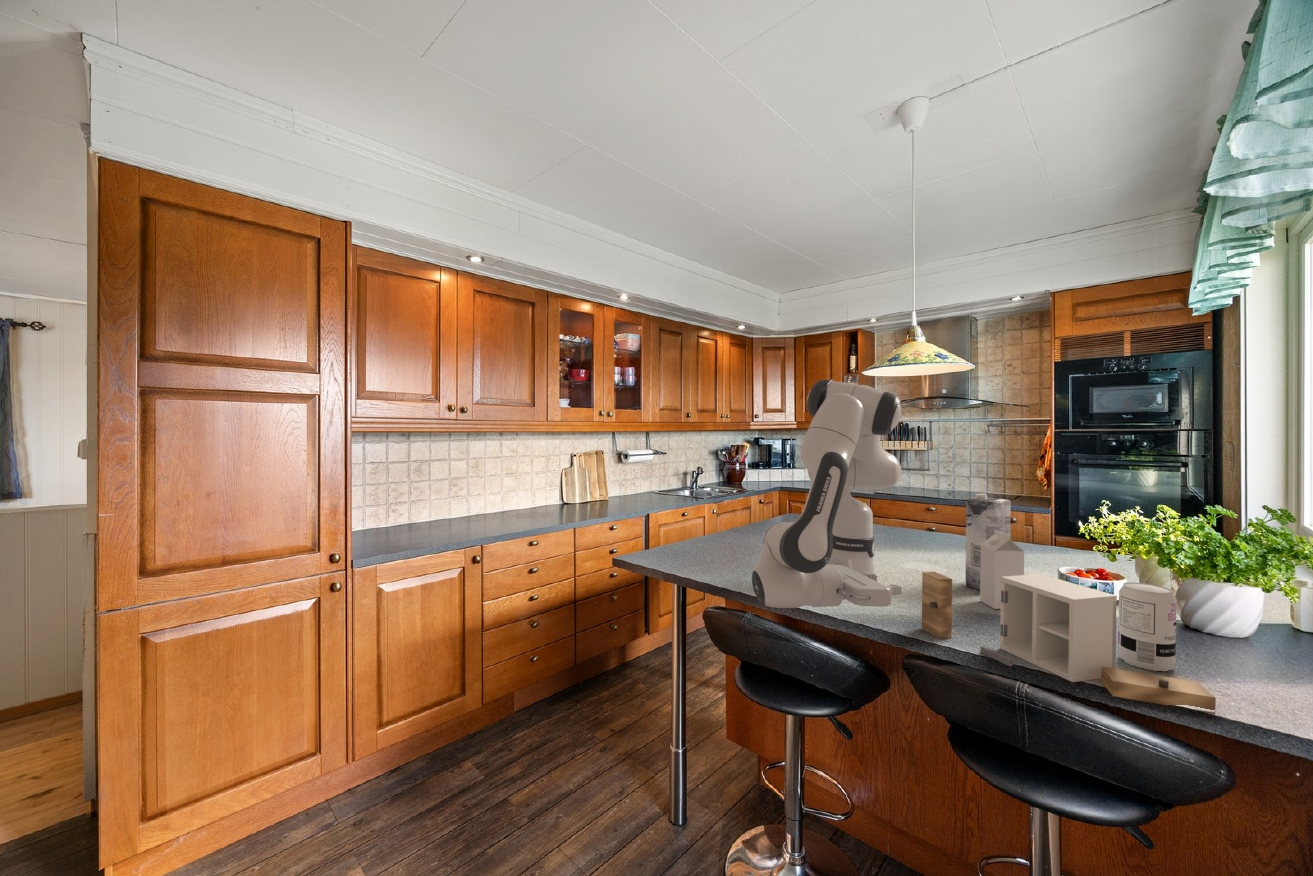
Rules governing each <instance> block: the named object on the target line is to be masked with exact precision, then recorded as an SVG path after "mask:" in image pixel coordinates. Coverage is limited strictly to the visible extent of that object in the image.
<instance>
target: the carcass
mask: <svg viewBox="0 0 1313 876" xmlns="http://www.w3.org/2000/svg"><path fill="white" fill-rule="evenodd" d="M1117 600H1118V595H1116V594H1112V593H1110V592H1109V593H1108V592H1105V591H1102V590H1097V589H1094V588H1091V587H1087V586H1084V585H1080V584H1076V583H1073V582H1071V581H1066V580H1063V579H1060V578H1055V577H1052V576H1050V575H1049V576H1048V575H1045V574H1042V573H1032V574H1024V575H1018V576H1004V577H1001V609H1000V619H999V621H1000V625H999V627H1000V628H999V629H1000V630H999V649H1000V650H1002V651H1005V652H1007V653H1009V654H1011V655H1014V656H1015V657H1018V658H1020V659H1021V660H1024V661H1026V662H1028V663H1031V664H1033V665H1035V666H1037V667H1038V668H1041V669H1044V670H1045V671H1047V672H1050V673H1051V674H1054V675H1056V676H1059V677H1060V678H1063V679H1065V680H1067V681H1069V682H1071V683H1077V682H1084V681H1085V682H1086V681H1091V680H1092V679H1093V680H1098V679H1099V678H1100V679H1101V667H1106V668H1113V669H1116V660H1117V659H1116V658H1117V657H1116V656H1117V655H1116V652H1117V651H1116V649H1117V645H1116V644H1117ZM979 652H980V653H981V654H984V655H985V656H988V657H990V658H991V659H994V660H995V661H998V662H1000V663H1001V664H1004V665H1005V666H1008V667H1014V659H1012V658H1010V657H1008V656H1006V655H1003V654H1001V653H999V652H997V651H995V650H993V649H991V648H989V647H987V646H984V645H980V651H979ZM1093 680H1092V681H1093Z"/></svg>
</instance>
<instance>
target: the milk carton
mask: <svg viewBox="0 0 1313 876" xmlns="http://www.w3.org/2000/svg"><path fill="white" fill-rule="evenodd" d="M1018 575H1025V551H1024V550H1023V549H1022V548H1021V547H1020V546H1019V545H1017V544H1016V543H1015V542H1014V541H1013V540H1011V534H1010V535H1008V534H1005V533H1002V532H999V531H997V530H995V534H994V535H993V536H991V537H990V538H989V539H988V540H986V541H985V542H984V543H982V544H981V568H980V590H979V598H980V599H979V601H981V602H982V603H984V604H985V605H987V606H989V607H990V609H991V608H992V609H994V610H1001V577H1004V576H1018Z"/></svg>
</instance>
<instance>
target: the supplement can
mask: <svg viewBox="0 0 1313 876" xmlns="http://www.w3.org/2000/svg"><path fill="white" fill-rule="evenodd" d="M1177 602H1178V601H1177V598H1176V596H1175V595H1174V593H1173V590H1172V589H1170V588H1168V587H1165V586H1161V585H1157V584H1152V583H1143V582H1135V581H1134V582H1132V581H1131V582H1130V581H1129V582H1124V583H1123V585H1122V587H1121V588H1120V589H1119V590H1118V623H1117V625H1118V627H1117V629H1118V632H1117V635H1118V636H1117V655H1118V657H1119V658H1120V659H1121V660H1122V659H1123V660H1124V661H1125V662H1124V661H1123V660H1122V661H1123V662H1124V663H1126V664H1128V665H1130V664H1131V665H1130V666H1132V665H1133V666H1132V667H1135V666H1136V667H1135V668H1138V667H1139V668H1138V669H1141V668H1145V669H1150V670H1157V671H1166V670H1170V671H1171V670H1174V669H1175V668H1176V654H1177V653H1176V651H1177V649H1176V645H1177V613H1178V611H1177V607H1178V605H1177V604H1178V603H1177ZM1145 669H1144V670H1145ZM1150 670H1149V671H1150Z"/></svg>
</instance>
